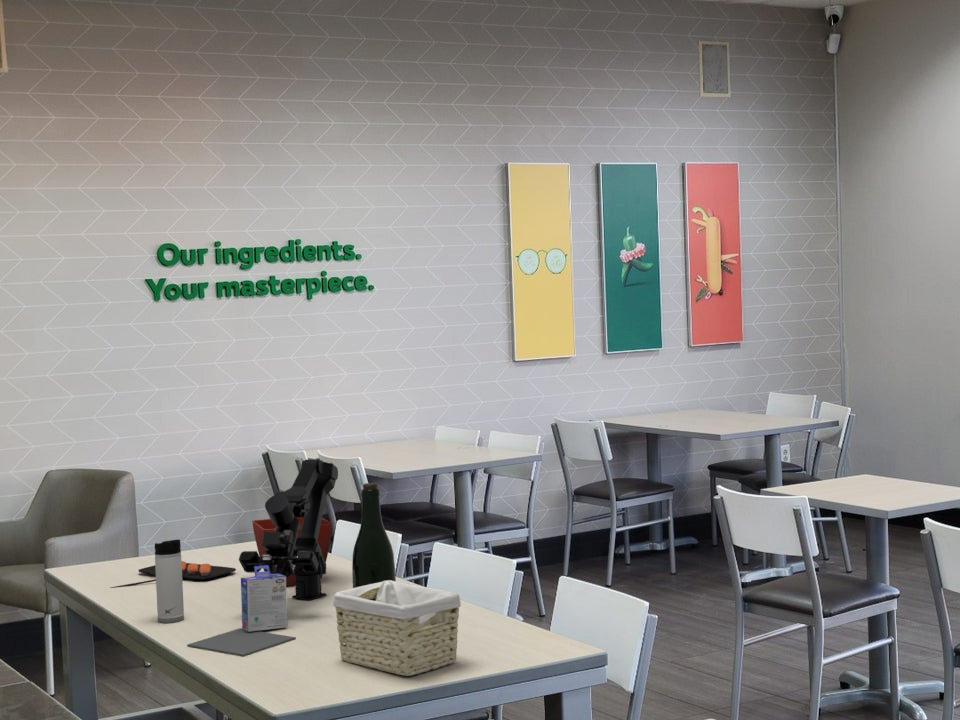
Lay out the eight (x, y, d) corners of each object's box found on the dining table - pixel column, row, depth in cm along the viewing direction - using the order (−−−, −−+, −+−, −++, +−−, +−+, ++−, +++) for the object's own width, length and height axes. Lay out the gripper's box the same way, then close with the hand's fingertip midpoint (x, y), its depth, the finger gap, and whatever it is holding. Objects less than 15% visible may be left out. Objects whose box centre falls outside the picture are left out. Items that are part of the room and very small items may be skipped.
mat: (240, 629, 279) (239, 628, 279) (295, 639, 268) (295, 637, 268) (187, 646, 266) (187, 644, 266) (243, 656, 255) (243, 654, 255)
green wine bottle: (378, 613, 290) (373, 479, 289) (406, 620, 282) (401, 482, 281) (344, 622, 282) (339, 484, 281) (372, 629, 275) (366, 487, 274)
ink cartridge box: (280, 623, 283) (279, 563, 283) (288, 628, 278) (287, 566, 279) (240, 628, 278) (239, 566, 278) (247, 632, 273) (247, 570, 274)
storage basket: (332, 660, 250) (329, 591, 249) (391, 644, 261) (388, 577, 261) (406, 682, 233) (403, 607, 232) (466, 663, 244) (463, 592, 244)
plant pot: (320, 571, 344) (317, 513, 344) (335, 584, 326) (333, 523, 326) (254, 578, 338) (251, 520, 337) (266, 591, 320) (263, 529, 319)
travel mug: (171, 624, 287) (167, 542, 286) (152, 621, 290) (148, 540, 290) (190, 618, 292) (186, 537, 292) (171, 616, 296) (167, 536, 295)
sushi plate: (240, 574, 347) (240, 561, 346) (162, 596, 321) (161, 582, 321) (171, 567, 362) (170, 555, 362) (91, 587, 337) (90, 574, 337)
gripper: (239, 518, 290) (224, 572, 280) (312, 517, 287) (299, 572, 276) (252, 544, 298) (238, 598, 287) (324, 544, 295) (312, 598, 284)
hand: (271, 591), depth 284 cm, fingers closed
